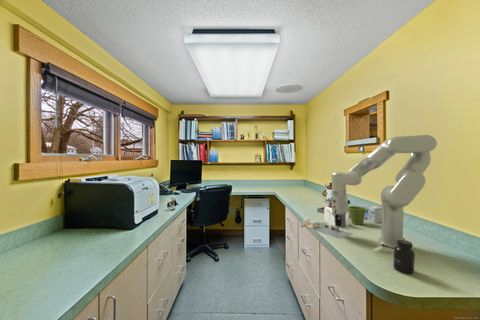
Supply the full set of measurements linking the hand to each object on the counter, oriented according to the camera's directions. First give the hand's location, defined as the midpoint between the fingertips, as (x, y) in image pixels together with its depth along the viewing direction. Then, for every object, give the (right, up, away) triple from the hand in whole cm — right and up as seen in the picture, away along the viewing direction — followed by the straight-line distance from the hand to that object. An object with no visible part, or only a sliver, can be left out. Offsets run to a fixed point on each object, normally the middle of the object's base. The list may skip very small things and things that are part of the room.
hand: (340, 224), depth 121 cm
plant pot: (+25, -8, +27) cm, 38 cm away
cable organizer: (+8, -8, +23) cm, 26 cm away
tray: (+26, -7, +56) cm, 62 cm away
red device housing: (+26, -7, +56) cm, 62 cm away
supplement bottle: (+9, -8, -35) cm, 37 cm away
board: (-5, -7, +10) cm, 13 cm away
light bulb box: (+40, -8, +35) cm, 54 cm away
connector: (0, -1, 0) cm, 1 cm away
